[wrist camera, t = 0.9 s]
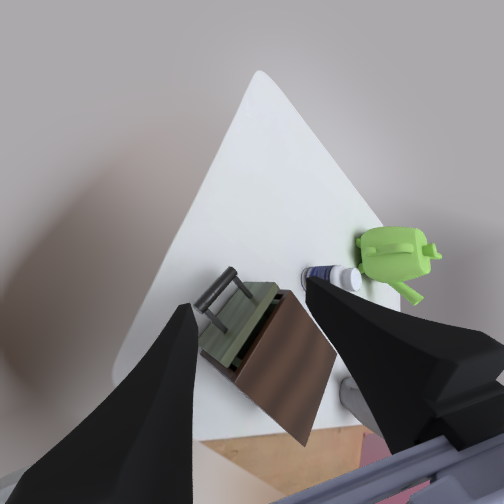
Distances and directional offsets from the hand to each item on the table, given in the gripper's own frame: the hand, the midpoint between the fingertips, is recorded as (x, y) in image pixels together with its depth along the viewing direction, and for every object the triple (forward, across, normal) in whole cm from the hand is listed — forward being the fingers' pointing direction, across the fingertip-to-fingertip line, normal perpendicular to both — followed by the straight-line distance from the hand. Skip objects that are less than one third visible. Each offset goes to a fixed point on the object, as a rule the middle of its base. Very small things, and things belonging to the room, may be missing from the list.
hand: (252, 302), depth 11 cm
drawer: (+11, +1, +13) cm, 17 cm away
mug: (+11, -19, +40) cm, 46 cm away
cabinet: (+11, -1, +18) cm, 21 cm away
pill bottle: (+21, -15, +16) cm, 30 cm away
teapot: (+33, -42, +25) cm, 59 cm away
